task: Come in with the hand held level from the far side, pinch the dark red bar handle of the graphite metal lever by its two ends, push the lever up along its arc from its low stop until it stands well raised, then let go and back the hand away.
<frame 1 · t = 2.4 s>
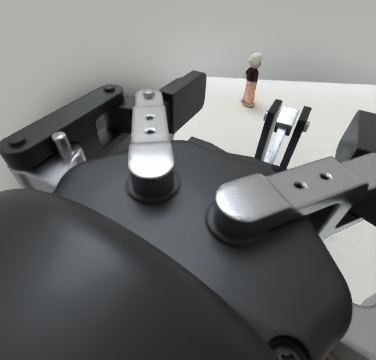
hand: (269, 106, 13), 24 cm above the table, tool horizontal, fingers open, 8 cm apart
bracket: (262, 184, 42), on the table
lever: (274, 148, 32), point 11 cm above the table, hinge at -25.0°
grandmother figurine: (246, 103, 65), on the table
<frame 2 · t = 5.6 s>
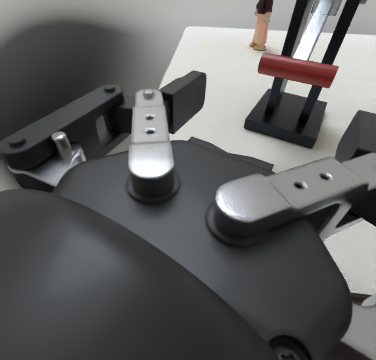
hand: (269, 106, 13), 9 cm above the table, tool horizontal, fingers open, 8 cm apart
bracket: (285, 119, 30), on the table
lever: (316, 25, 20), point 11 cm above the table, hinge at -25.0°
grandmother figurine: (256, 47, 53), on the table
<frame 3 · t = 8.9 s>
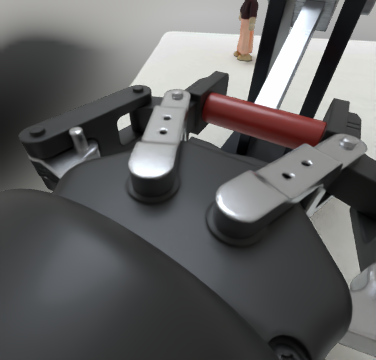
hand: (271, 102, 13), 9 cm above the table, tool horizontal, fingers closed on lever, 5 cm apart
bracket: (264, 159, 24), on the table
lever: (294, 47, 13), point 11 cm above the table, hinge at -25.0°, touching gripper
grandmother figurine: (241, 57, 46), on the table
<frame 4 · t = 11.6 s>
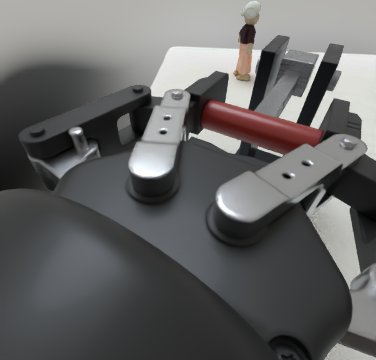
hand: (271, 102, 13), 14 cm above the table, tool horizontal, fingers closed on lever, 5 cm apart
bracket: (256, 185, 28), on the table
lever: (281, 93, 15), point 13 cm above the table, hinge at 3.2°, touching gripper
grandmother figurine: (240, 76, 50), on the table
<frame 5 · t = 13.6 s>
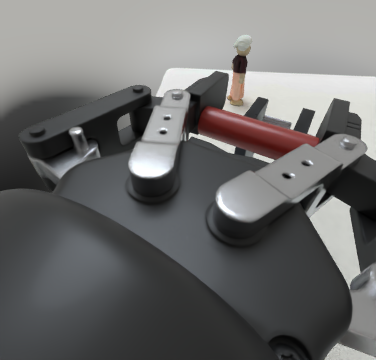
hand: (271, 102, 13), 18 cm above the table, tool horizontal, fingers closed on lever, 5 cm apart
bracket: (244, 218, 30), on the table
lever: (266, 133, 16), point 15 cm above the table, hinge at 29.4°, touching gripper
grandmother figurine: (234, 100, 52), on the table
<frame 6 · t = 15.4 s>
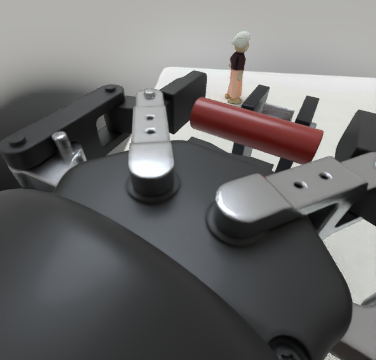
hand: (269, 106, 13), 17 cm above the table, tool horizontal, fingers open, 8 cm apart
bracket: (243, 216, 29), on the table
lever: (267, 124, 15), point 15 cm above the table, hinge at 24.5°
grandmother figurine: (232, 99, 51), on the table
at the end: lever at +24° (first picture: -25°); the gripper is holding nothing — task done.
